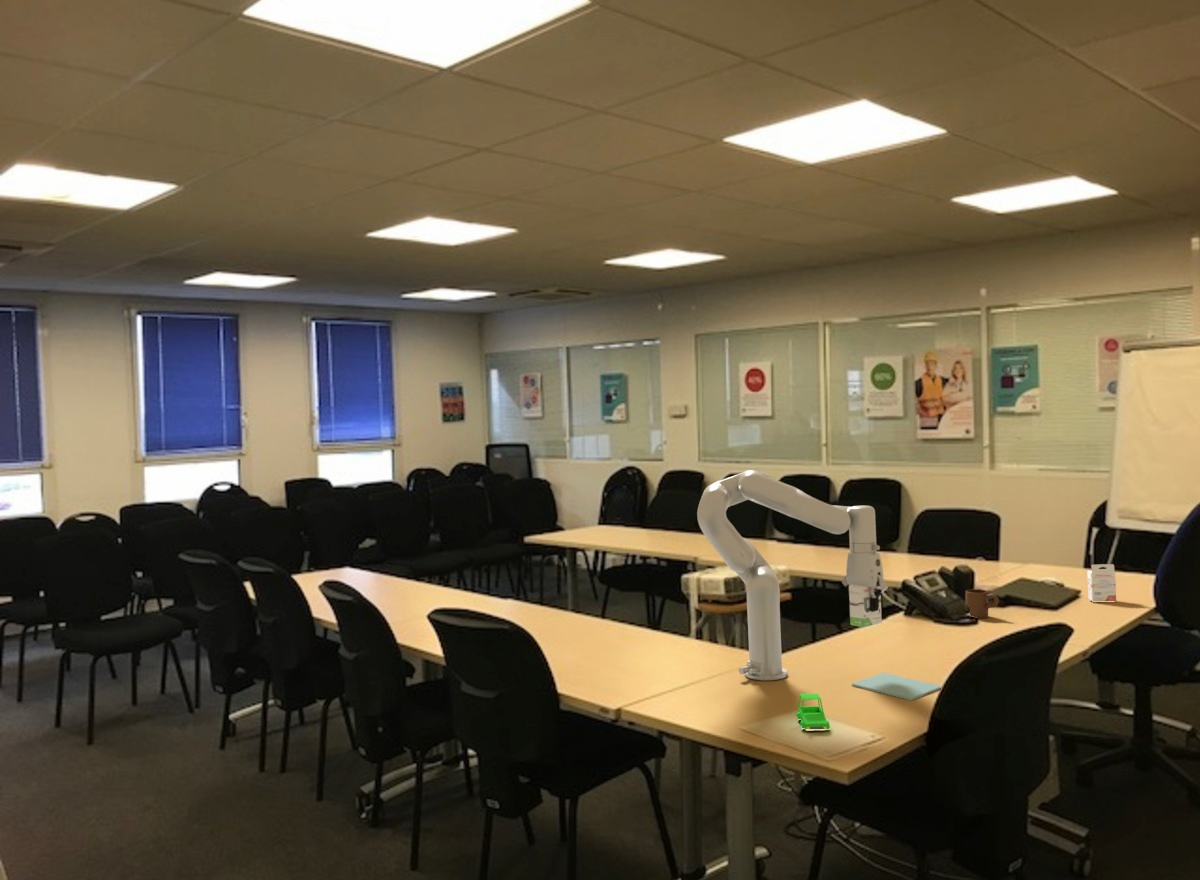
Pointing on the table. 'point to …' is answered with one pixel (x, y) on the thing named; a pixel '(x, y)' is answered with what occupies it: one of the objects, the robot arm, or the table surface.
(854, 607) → the white cardboard box
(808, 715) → the toy car
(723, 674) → the table surface
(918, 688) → the mat
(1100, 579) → the ink cartridge box
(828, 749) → the table surface
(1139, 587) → the table surface
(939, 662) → the table surface
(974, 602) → the mug
